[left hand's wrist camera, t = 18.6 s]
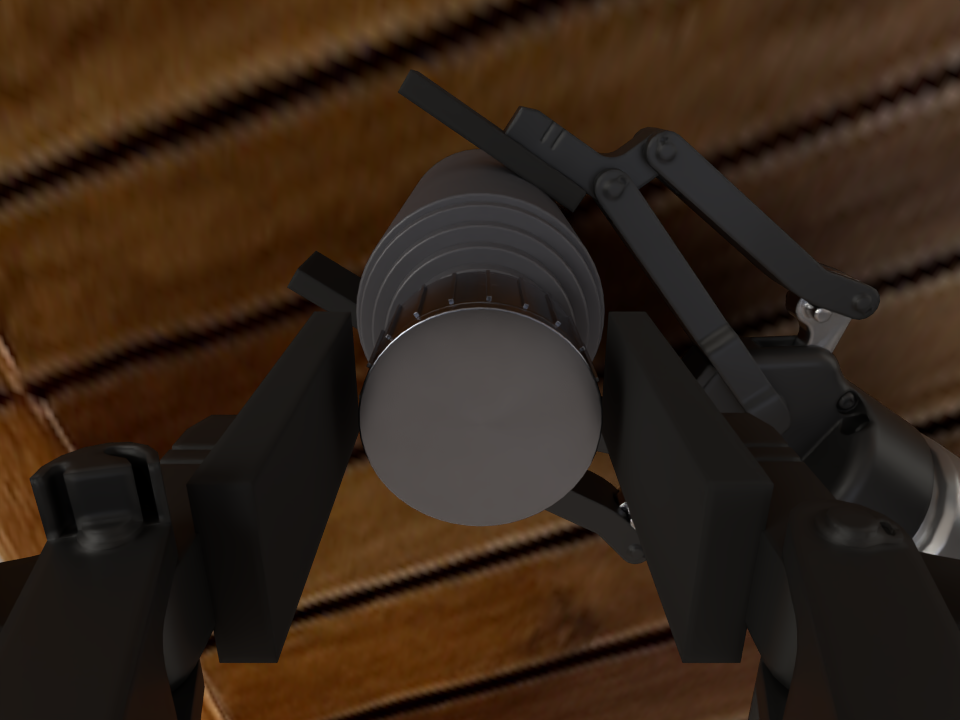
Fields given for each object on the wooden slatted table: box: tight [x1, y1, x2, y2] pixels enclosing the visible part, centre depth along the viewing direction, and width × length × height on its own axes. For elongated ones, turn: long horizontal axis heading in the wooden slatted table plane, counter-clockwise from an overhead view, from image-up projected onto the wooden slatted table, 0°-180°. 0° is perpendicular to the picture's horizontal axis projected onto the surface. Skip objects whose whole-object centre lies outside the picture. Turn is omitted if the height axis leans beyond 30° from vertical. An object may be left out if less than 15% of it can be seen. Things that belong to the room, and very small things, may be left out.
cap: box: [358, 270, 603, 526], centre depth 13 cm, size 4×4×2 cm
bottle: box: [356, 149, 605, 362], centre depth 21 cm, size 6×6×18 cm
